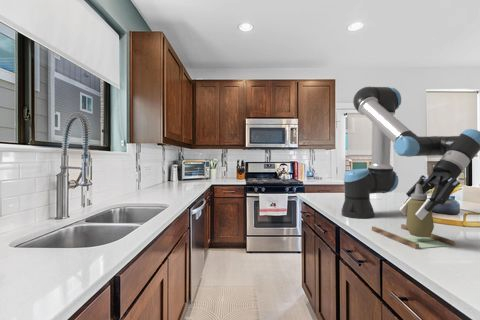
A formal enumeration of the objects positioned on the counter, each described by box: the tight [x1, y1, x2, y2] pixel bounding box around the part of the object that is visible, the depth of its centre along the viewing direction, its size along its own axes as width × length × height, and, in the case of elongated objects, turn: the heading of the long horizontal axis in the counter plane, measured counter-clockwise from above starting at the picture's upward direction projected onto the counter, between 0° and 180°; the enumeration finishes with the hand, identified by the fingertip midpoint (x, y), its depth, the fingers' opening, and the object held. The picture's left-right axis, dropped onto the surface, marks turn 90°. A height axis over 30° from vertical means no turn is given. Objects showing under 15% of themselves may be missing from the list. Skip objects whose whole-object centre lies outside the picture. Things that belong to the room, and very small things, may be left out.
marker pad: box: [404, 236, 451, 249], centre depth 89 cm, size 10×11×1 cm
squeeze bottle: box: [405, 183, 435, 237], centre depth 90 cm, size 8×8×18 cm
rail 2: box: [400, 224, 456, 247], centre depth 96 cm, size 22×1×2 cm, turn 8°
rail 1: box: [371, 226, 420, 250], centre depth 94 cm, size 22×1×2 cm, turn 8°
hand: (410, 214), depth 90 cm, fingers closed on squeeze bottle, 6 cm apart
